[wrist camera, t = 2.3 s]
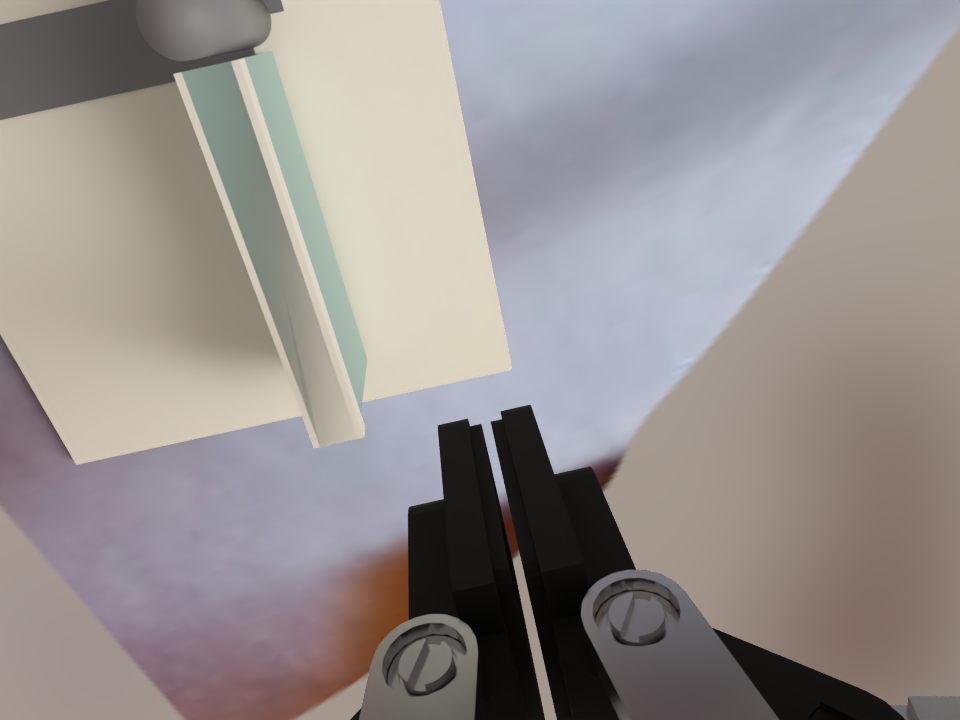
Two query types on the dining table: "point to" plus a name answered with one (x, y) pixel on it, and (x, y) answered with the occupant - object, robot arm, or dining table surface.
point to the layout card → (205, 227)
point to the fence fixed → (202, 26)
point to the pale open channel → (281, 237)
